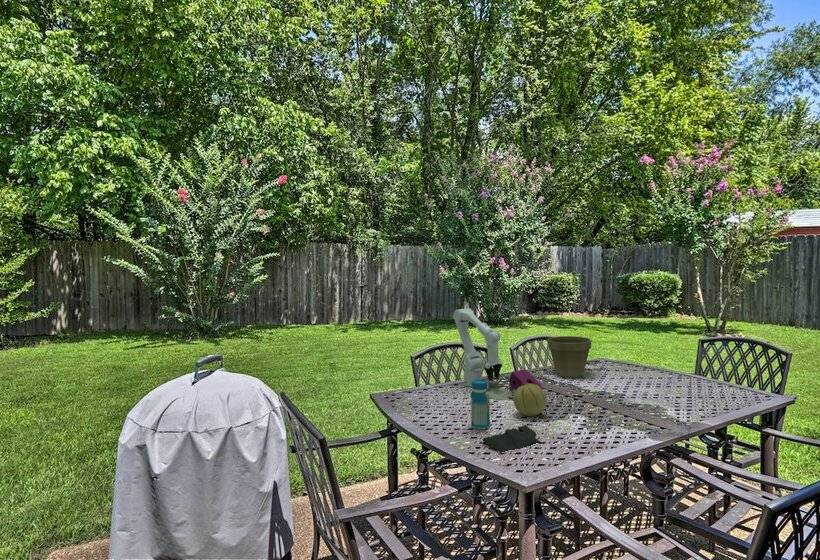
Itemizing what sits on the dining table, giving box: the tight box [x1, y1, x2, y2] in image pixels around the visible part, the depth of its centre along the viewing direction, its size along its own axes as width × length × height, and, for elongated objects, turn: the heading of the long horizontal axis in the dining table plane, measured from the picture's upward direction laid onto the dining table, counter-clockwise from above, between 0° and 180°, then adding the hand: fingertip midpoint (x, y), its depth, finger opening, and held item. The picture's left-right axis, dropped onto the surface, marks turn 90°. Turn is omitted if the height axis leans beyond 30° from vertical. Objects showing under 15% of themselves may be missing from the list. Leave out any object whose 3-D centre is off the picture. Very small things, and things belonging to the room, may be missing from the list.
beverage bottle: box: [469, 378, 491, 430], centre depth 213 cm, size 8×8×20 cm
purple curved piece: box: [508, 368, 543, 390], centre depth 266 cm, size 9×8×18 cm
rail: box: [470, 386, 511, 401], centre depth 258 cm, size 18×9×6 cm, turn 55°
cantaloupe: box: [513, 383, 548, 417], centre depth 225 cm, size 15×15×15 cm
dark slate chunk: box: [482, 424, 541, 453], centre depth 196 cm, size 15×22×5 cm
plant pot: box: [546, 335, 592, 379], centre depth 292 cm, size 25×25×22 cm
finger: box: [487, 380, 500, 389], centre depth 266 cm, size 5×4×5 cm
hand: (493, 378), depth 265 cm, fingers open, 7 cm apart
